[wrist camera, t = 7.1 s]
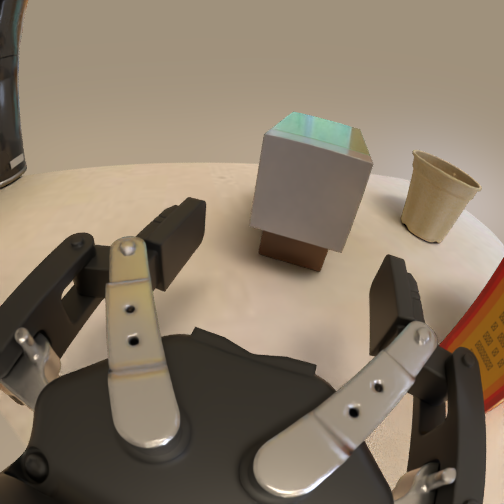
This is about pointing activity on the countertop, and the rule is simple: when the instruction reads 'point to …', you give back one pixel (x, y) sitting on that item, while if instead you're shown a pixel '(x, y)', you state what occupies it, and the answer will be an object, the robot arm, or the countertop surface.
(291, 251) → the riser
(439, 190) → the flower pot
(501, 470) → the countertop surface
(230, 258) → the countertop surface
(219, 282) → the countertop surface
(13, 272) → the countertop surface
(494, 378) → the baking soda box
